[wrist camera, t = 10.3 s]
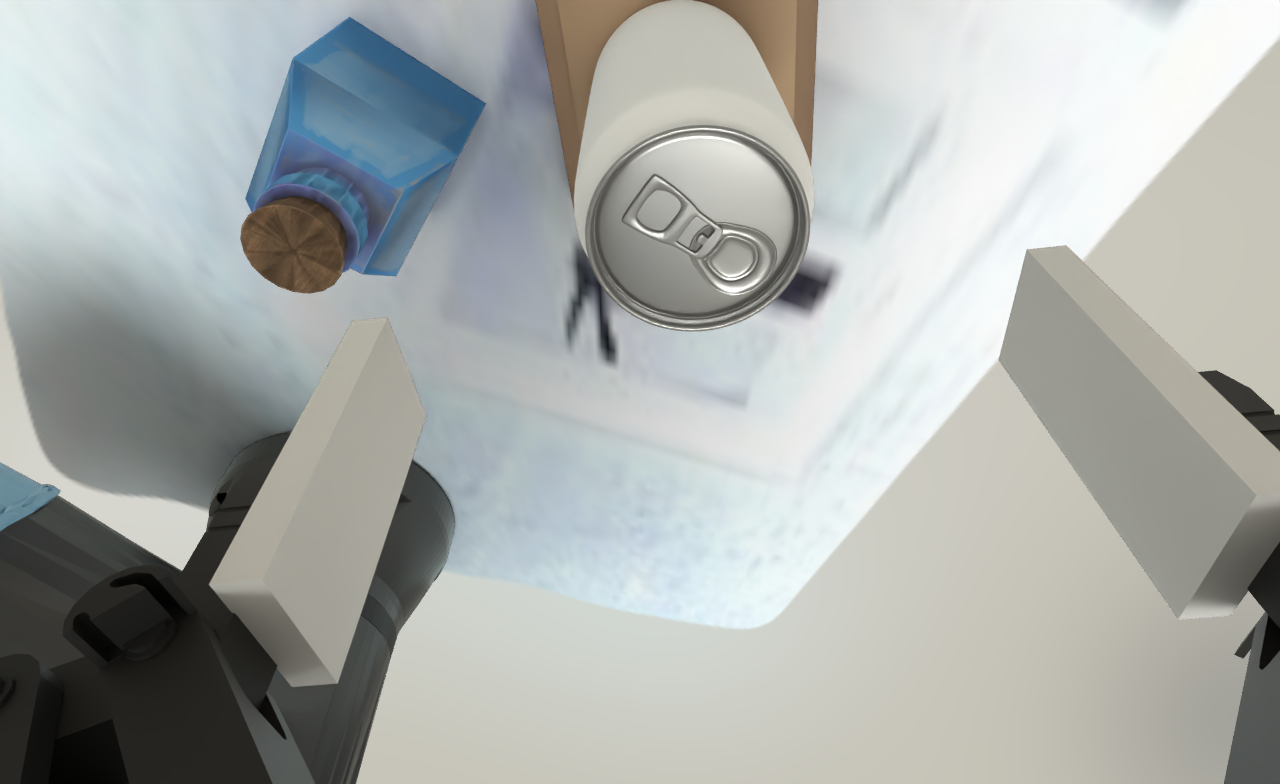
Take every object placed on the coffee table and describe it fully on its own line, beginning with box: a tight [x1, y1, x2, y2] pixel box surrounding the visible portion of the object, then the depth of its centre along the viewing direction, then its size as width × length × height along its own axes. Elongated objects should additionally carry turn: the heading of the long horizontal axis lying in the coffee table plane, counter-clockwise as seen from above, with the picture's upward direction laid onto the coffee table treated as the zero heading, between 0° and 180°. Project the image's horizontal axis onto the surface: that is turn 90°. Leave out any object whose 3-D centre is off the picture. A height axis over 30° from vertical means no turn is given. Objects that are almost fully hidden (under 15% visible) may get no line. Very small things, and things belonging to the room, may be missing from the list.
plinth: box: [536, 0, 818, 208], centre depth 29 cm, size 10×10×4 cm
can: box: [574, 0, 814, 331], centre depth 22 cm, size 6×6×12 cm
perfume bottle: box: [240, 17, 486, 293], centre depth 27 cm, size 6×6×12 cm
